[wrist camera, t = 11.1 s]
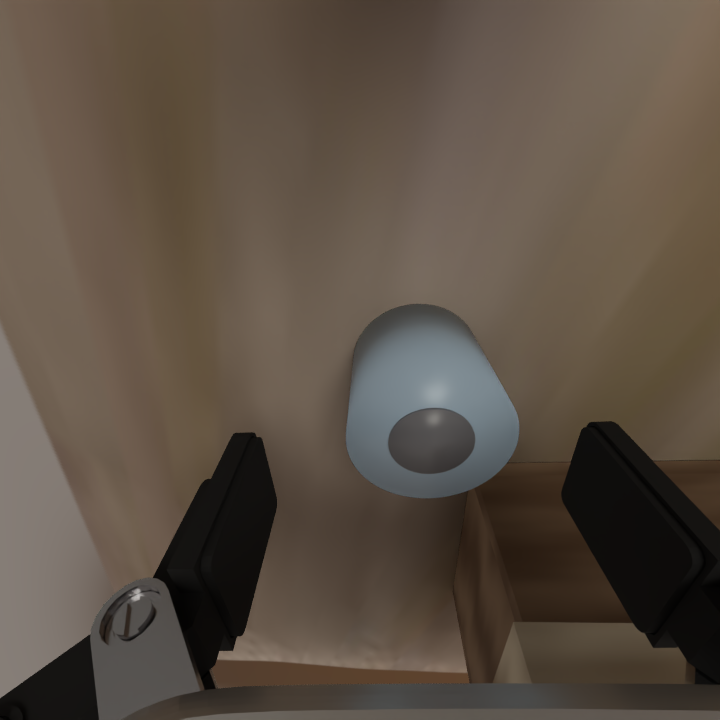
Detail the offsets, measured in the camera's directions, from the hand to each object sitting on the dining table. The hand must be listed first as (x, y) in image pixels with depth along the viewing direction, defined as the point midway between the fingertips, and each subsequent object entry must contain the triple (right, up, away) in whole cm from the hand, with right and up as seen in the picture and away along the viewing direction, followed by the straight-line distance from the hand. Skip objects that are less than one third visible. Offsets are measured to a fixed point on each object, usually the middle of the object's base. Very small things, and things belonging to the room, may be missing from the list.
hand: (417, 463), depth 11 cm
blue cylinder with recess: (+1, +3, +4) cm, 5 cm away
